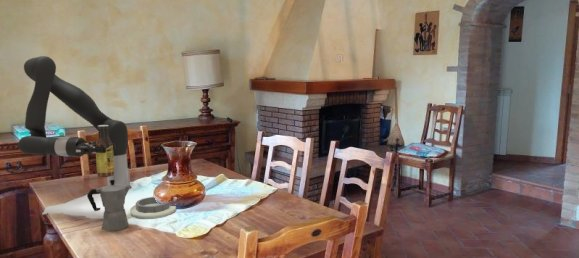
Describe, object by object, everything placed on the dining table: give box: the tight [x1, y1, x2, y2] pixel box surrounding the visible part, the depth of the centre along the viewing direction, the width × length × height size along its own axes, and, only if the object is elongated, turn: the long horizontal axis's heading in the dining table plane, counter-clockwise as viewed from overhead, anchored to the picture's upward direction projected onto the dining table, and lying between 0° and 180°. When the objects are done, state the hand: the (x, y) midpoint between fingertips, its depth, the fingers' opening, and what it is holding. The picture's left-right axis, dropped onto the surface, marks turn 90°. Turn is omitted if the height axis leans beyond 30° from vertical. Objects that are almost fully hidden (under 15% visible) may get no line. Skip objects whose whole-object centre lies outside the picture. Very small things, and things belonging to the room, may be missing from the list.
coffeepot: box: [86, 180, 132, 232], centre depth 167 cm, size 15×9×18 cm, turn 122°
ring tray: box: [129, 196, 177, 220], centre depth 186 cm, size 18×18×4 cm
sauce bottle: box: [95, 125, 114, 178], centre depth 176 cm, size 6×6×20 cm
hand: (110, 148), depth 176 cm, fingers closed on sauce bottle, 6 cm apart
